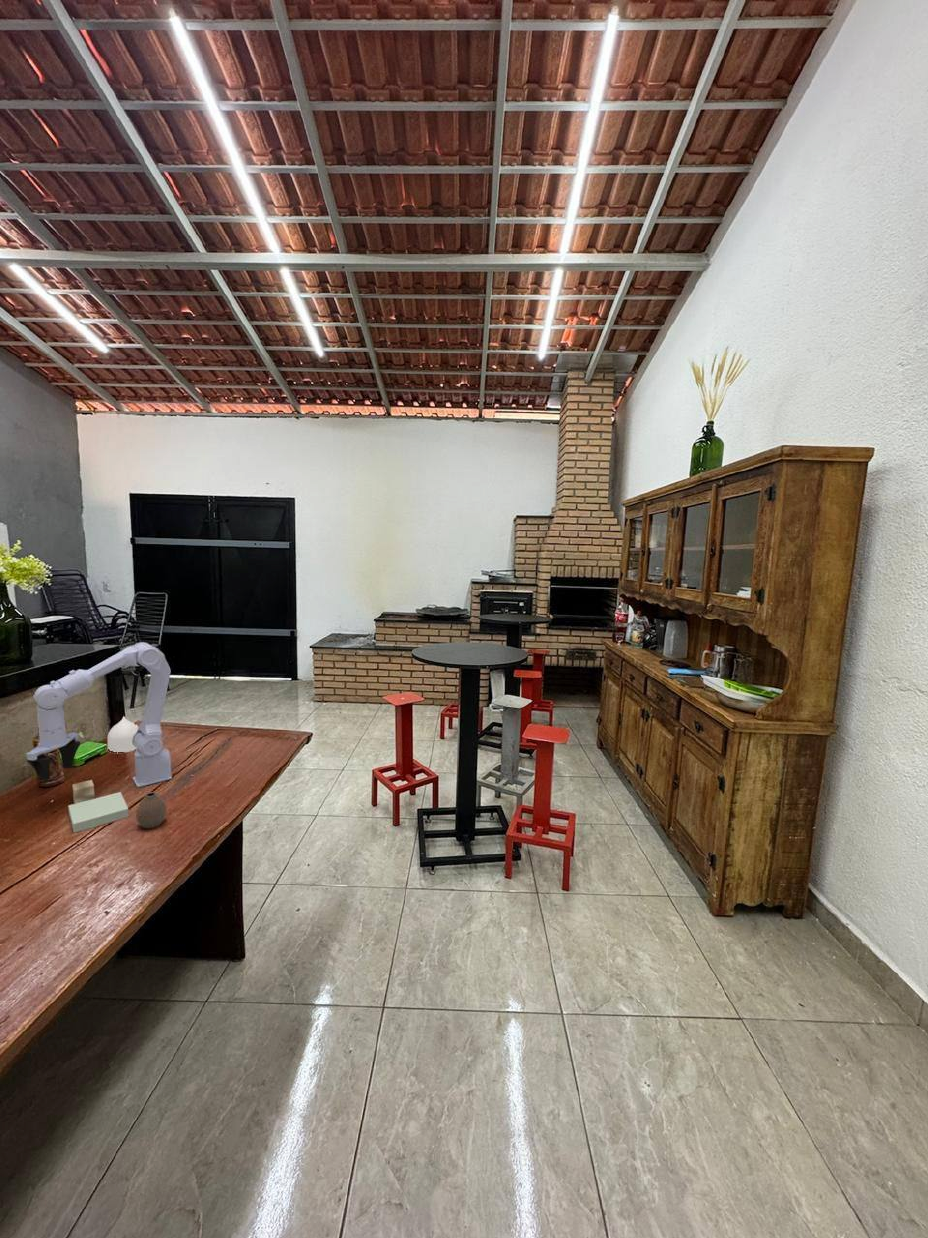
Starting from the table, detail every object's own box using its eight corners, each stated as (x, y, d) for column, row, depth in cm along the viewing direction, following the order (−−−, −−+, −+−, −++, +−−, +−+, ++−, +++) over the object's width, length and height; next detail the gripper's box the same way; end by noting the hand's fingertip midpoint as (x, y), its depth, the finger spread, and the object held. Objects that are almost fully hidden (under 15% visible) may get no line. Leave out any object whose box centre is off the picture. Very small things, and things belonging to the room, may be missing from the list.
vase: (173, 820, 134) (171, 790, 133) (149, 834, 128) (148, 802, 127) (154, 815, 137) (153, 786, 135) (130, 828, 130) (128, 797, 129)
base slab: (121, 800, 144) (120, 792, 144) (128, 817, 135) (128, 808, 135) (69, 814, 136) (68, 805, 135) (73, 833, 127) (73, 824, 127)
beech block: (92, 795, 146) (91, 779, 145) (95, 801, 143) (93, 785, 142) (73, 800, 143) (72, 784, 142) (75, 806, 140) (74, 790, 139)
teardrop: (150, 743, 184) (149, 713, 182) (122, 755, 173) (120, 722, 172) (129, 739, 187) (127, 709, 185) (99, 750, 177) (97, 718, 175)
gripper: (60, 718, 144) (64, 761, 146) (13, 737, 130) (19, 785, 132) (83, 719, 144) (87, 762, 146) (39, 738, 129) (44, 786, 131)
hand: (56, 773), depth 139 cm, fingers open, 7 cm apart
